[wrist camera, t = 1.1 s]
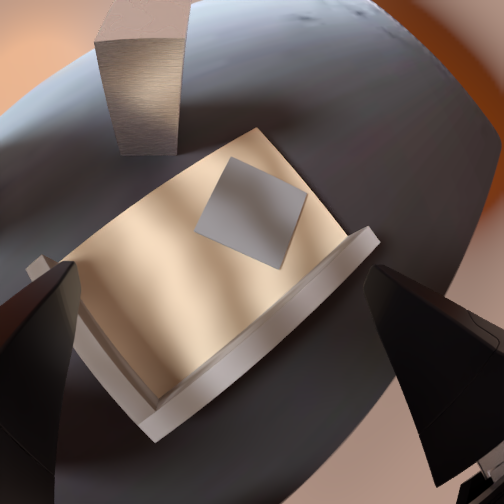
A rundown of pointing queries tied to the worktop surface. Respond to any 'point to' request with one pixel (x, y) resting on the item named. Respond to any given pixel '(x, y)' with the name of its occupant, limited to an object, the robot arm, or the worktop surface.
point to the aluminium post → (144, 72)
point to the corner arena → (204, 280)
